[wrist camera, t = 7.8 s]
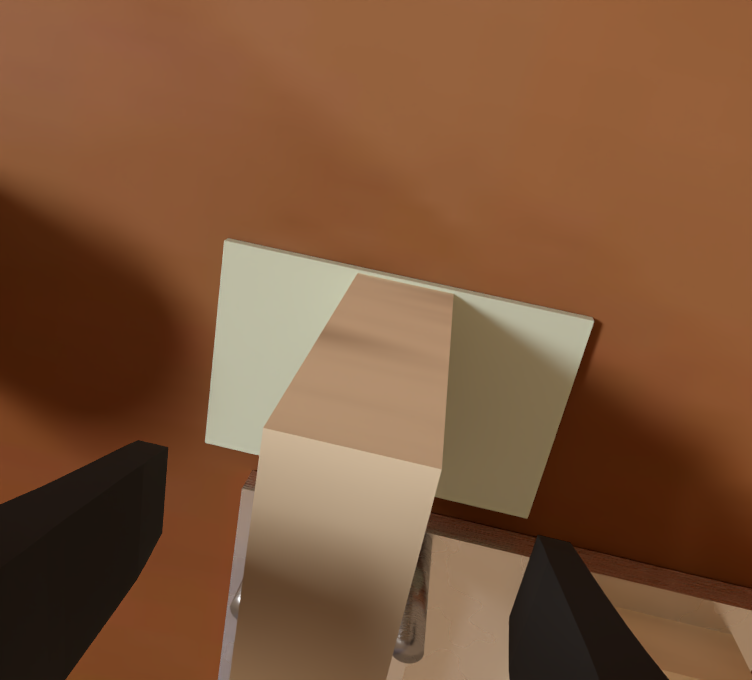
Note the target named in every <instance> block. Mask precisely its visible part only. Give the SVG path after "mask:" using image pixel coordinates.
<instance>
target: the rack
mask: <svg viewBox="0 0 752 680" xmlns="http://www.w3.org/2000/svg"><path fill="white" fill-rule="evenodd" d="M256 477H257V471H254V470H252V472H251V474H250V475H249V477H248V479H247V481H246V482H245V484H244V486H243V488H242V493H241V501H240V509H239V517H238V525H237V533H236V541H235V549H234V557H233V565H232V573H231V581H230V589H229V597H228V605H227V613H226V621H225V629H224V637H223V645H222V653H221V661H220V669H219V677H218V680H229V678H230V671H231V663H232V656H233V648H234V641H235V633H236V626H237V619H238V611H239V604H240V596H241V589H242V581H243V574H244V566H245V559H246V552H247V544H248V537H249V529H250V522H251V514H252V507H253V500H254V492H255V485H256ZM535 541H536V538H535V537H531V536H527V535H523V534H519V533H514V532H510V531H506V530H502V529H498V528H493V527H489V526H485V525H481V524H477V523H472V522H468V521H464V520H460V519H455V518H451V517H447V516H443V515H439V514H434V513H430V516H429V520H428V523H427V527H426V531H425V535H424V539H423V542H422V546H421V550H420V554H419V557H418V561H417V565H416V569H415V572H414V576H413V580H412V584H411V588H410V591H409V595H408V599H407V603H406V606H405V610H404V614H403V618H402V622H401V625H400V629H399V633H398V637H397V640H396V644H395V648H394V652H393V655H392V659H391V663H390V667H389V671H388V674H387V678H386V680H510V679H509V616H510V613H511V610H512V607H513V605H514V602H515V599H516V596H517V593H518V590H519V587H520V584H521V582H522V579H523V576H524V573H525V570H526V567H527V564H528V561H529V558H530V556H531V553H532V550H533V547H534V544H535ZM574 549H575V550H576V551H577V553H578V554H579V556H580V557H581V559H582V560H583V562H584V563H585V565H586V566H587V568H588V569H589V571H590V572H591V574H592V575H593V577H594V578H595V580H596V581H597V583H598V584H599V586H600V587H601V589H602V590H603V592H604V593H605V595H606V596H607V597H608V599H609V600H610V602H611V603H612V605H613V606H615V607H619V608H624V609H628V610H632V611H636V612H640V613H644V614H648V615H653V616H657V617H661V618H665V619H669V620H673V621H677V622H681V623H686V624H690V625H694V626H698V627H702V628H706V629H710V630H715V631H719V632H723V633H727V634H731V635H733V637H734V639H735V641H736V643H737V645H738V647H739V649H740V651H741V653H742V655H743V657H744V659H745V662H746V664H747V666H748V668H749V670H750V672H751V670H752V589H750V588H746V587H742V586H737V585H733V584H729V583H725V582H721V581H716V580H712V579H708V578H704V577H700V576H695V575H691V574H687V573H683V572H678V571H674V570H670V569H666V568H662V567H657V566H653V565H649V564H645V563H641V562H636V561H632V560H628V559H624V558H620V557H615V556H611V555H607V554H603V553H599V552H594V551H590V550H586V549H582V548H577V547H574Z"/></svg>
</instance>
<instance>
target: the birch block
mask: <svg viewBox="0 0 752 680" xmlns="http://www.w3.org/2000/svg"><path fill="white" fill-rule="evenodd" d="M453 297H454V294H452V293H448V292H443V291H439V290H434V289H429V288H425V287H420V286H416V285H411V284H407V283H402V282H397V281H393V280H388V279H384V278H379V277H374V276H370V275H365V274H361V273H357V275H356V276H355V278H354V280H353V281H352V283H351V285H350V286H349V288H348V290H347V291H346V293H345V294H344V296H343V298H342V299H341V301H340V303H339V304H338V306H337V308H336V309H335V311H334V312H333V314H332V316H331V317H330V319H329V321H328V322H327V324H326V326H325V327H324V329H323V331H322V332H321V334H320V335H319V337H318V339H317V340H316V342H315V344H314V345H313V347H312V349H311V350H310V352H309V353H308V355H307V357H306V358H305V360H304V362H303V363H302V365H301V367H300V368H299V370H298V371H297V373H296V375H295V376H294V378H293V380H292V381H291V383H290V385H289V386H288V388H287V389H286V391H285V393H284V394H283V396H282V398H281V399H280V401H279V403H278V404H277V406H276V408H275V409H274V411H273V412H272V414H271V416H270V417H269V419H268V421H267V422H266V424H265V426H264V427H263V433H262V440H261V447H260V455H259V462H258V470H257V477H256V485H255V492H254V500H253V507H252V514H251V522H250V529H249V537H248V544H247V552H246V559H245V566H244V574H243V581H242V589H241V596H240V604H239V611H238V619H237V626H236V633H235V641H234V648H233V656H232V663H231V671H230V678H229V680H386V678H387V674H388V671H389V667H390V663H391V659H392V655H393V652H394V648H395V644H396V640H397V637H398V633H399V629H400V625H401V622H402V618H403V614H404V610H405V606H406V603H407V599H408V595H409V591H410V588H411V584H412V580H413V576H414V572H415V569H416V565H417V561H418V557H419V554H420V550H421V546H422V542H423V539H424V535H425V531H426V527H427V523H428V520H429V516H430V512H431V508H432V505H433V501H434V497H435V493H436V489H437V486H438V482H439V478H440V474H441V471H442V459H443V444H444V430H445V415H446V400H447V385H448V371H449V356H450V341H451V326H452V311H453Z"/></svg>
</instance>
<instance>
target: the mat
mask: <svg viewBox="0 0 752 680" xmlns="http://www.w3.org/2000/svg"><path fill="white" fill-rule="evenodd" d="M357 273H361V274H365V275H370V276H374V277H379V278H384V279H388V280H393V281H397V282H402V283H407V284H411V285H416V286H420V287H425V288H429V289H434V290H439V291H443V292H448V293H452V294H454V297H453V311H452V326H451V341H450V356H449V371H448V385H447V400H446V415H445V430H444V444H443V459H442V471H441V474H440V478H439V482H438V486H437V489H436V493H435V497H437V498H441V499H446V500H450V501H454V502H458V503H463V504H467V505H471V506H475V507H480V508H484V509H488V510H492V511H497V512H501V513H505V514H509V515H513V516H518V517H522V518H526V519H528V516H529V513H530V510H531V507H532V504H533V501H534V498H535V495H536V492H537V489H538V486H539V483H540V480H541V477H542V474H543V472H544V469H545V466H546V463H547V460H548V457H549V454H550V451H551V448H552V445H553V442H554V439H555V436H556V433H557V430H558V427H559V424H560V421H561V418H562V415H563V412H564V409H565V406H566V403H567V400H568V398H569V395H570V392H571V389H572V386H573V383H574V380H575V377H576V374H577V371H578V368H579V365H580V362H581V359H582V356H583V353H584V350H585V347H586V344H587V341H588V338H589V335H590V332H591V329H592V326H593V323H594V320H593V318H592V317H589V316H584V315H579V314H575V313H570V312H566V311H561V310H556V309H552V308H547V307H543V306H538V305H533V304H529V303H524V302H520V301H515V300H510V299H506V298H501V297H497V296H492V295H487V294H483V293H478V292H474V291H469V290H464V289H460V288H455V287H451V286H446V285H441V284H437V283H432V282H428V281H423V280H418V279H414V278H409V277H405V276H400V275H395V274H391V273H386V272H382V271H377V270H372V269H368V268H363V267H359V266H354V265H349V264H345V263H340V262H336V261H331V260H326V259H322V258H317V257H312V256H308V255H303V254H299V253H294V252H289V251H285V250H280V249H276V248H271V247H266V246H262V245H257V244H253V243H248V242H243V241H239V240H234V239H230V238H228V239H226V240H224V248H223V259H222V269H221V280H220V290H219V301H218V311H217V322H216V332H215V343H214V353H213V364H212V374H211V385H210V395H209V406H208V416H207V427H206V437H205V443H209V444H213V445H217V446H221V447H226V448H230V449H234V450H238V451H243V452H247V453H251V454H255V455H260V447H261V440H262V433H263V427H264V426H265V424H266V422H267V421H268V419H269V417H270V416H271V414H272V412H273V411H274V409H275V408H276V406H277V404H278V403H279V401H280V399H281V398H282V396H283V394H284V393H285V391H286V389H287V388H288V386H289V385H290V383H291V381H292V380H293V378H294V376H295V375H296V373H297V371H298V370H299V368H300V367H301V365H302V363H303V362H304V360H305V358H306V357H307V355H308V353H309V352H310V350H311V349H312V347H313V345H314V344H315V342H316V340H317V339H318V337H319V335H320V334H321V332H322V331H323V329H324V327H325V326H326V324H327V322H328V321H329V319H330V317H331V316H332V314H333V312H334V311H335V309H336V308H337V306H338V304H339V303H340V301H341V299H342V298H343V296H344V294H345V293H346V291H347V290H348V288H349V286H350V285H351V283H352V281H353V280H354V278H355V276H356V275H357Z"/></svg>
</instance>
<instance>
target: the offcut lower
mask: <svg viewBox="0 0 752 680" xmlns="http://www.w3.org/2000/svg"><path fill="white" fill-rule="evenodd" d="M614 608H615V609H616V610H617V612H618V613H619V615H620V616H621V617H622V619H623V620H624V622H625V623H626V624H627V626H628V627H629V629H630V630H631V631H632V633H633V634H634V635H635V637H636V638H637V639H638V641H639V642H640V643H641V645H642V646H643V647H644V649H645V650H646V651H647V653H648V654H649V655H650V656H651V658H652V659H653V660H654V661H655V663H656V664H657V665H658V666H659V668H660V669H661V670H662V671H663V673H664V674H665V675H666V676H667V678H668V679H669V680H752V674H751V672H750V670H749V668H748V666H747V664H746V662H745V659H744V657H743V655H742V653H741V651H740V649H739V647H738V645H737V643H736V641H735V639H734V637H733V635H731V634H727V633H723V632H719V631H715V630H710V629H706V628H702V627H698V626H694V625H690V624H686V623H681V622H677V621H673V620H669V619H665V618H661V617H657V616H653V615H648V614H644V613H640V612H636V611H632V610H628V609H624V608H619V607H615V606H614Z"/></svg>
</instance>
